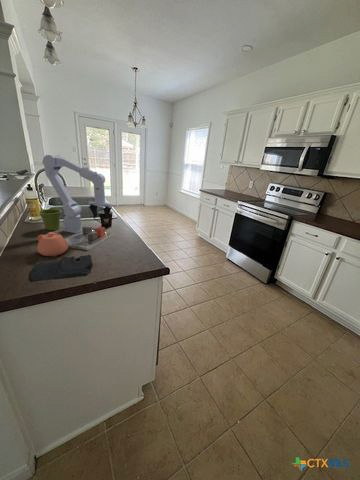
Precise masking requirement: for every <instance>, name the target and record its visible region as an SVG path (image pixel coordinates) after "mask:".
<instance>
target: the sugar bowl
mask: <svg viewBox="0 0 360 480" xmlns="http://www.w3.org/2000/svg"><path fill="white" fill-rule="evenodd" d="M37 240H38V241H37V242H38V243H37V252H38V253H39V254H40V255H42V256H45V257H57V256H59V255H62V254H64V253H65V252H67V250H68V249H69V247H68V244H67V242H66V240H65V237H64V236H63V235H61V234H60V233H55V232H54V231H50V232H47V233H46V234H39V235H37Z"/></svg>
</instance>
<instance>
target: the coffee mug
mask: <svg viewBox="0 0 360 480" xmlns="http://www.w3.org/2000/svg"><path fill="white" fill-rule="evenodd" d="M92 217H93V219H94V220H95V221H97V222H98V223H100V224H101V227H105V229H109V228H111V227H112V225H113V211H112V210H110V213H109V216H108V219H105V213H104V210H100V211H99V212H98V213H97V217H98V218H99V219H100V220H98V219H96V217H95V218H94V216H92Z"/></svg>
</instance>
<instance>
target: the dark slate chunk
mask: <svg viewBox="0 0 360 480" xmlns="http://www.w3.org/2000/svg"><path fill="white" fill-rule="evenodd" d="M93 265H94V264H93V259H92V255H91V254H88V255H87V254H86V255H80V256H79V257H75V256H74V255H73V256H69V257H68V256H62V257H61V258H60V259H55V260H41V261H37V262H36V263H35V264H34V265H33V267H32V268H31V271H30V275H29V276H30V277H29V279H30V282H31V283H32V282H40V281H41V282H42V281H50V280H51V281H52V280H60V279H69V278H76V277H77V278H78V277H84V276H85V277H86V276H88V275H89V274H92V269H93Z"/></svg>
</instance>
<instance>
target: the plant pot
mask: <svg viewBox="0 0 360 480" xmlns="http://www.w3.org/2000/svg"><path fill="white" fill-rule="evenodd" d="M61 212H62V210H61V209H57V208H48V209H47V208H46V209H41V210H38V212H37V213H38V214H39V216H40V217H41V220H42V222H43V224H44V228H45V230H47V231H56V230H59V229H60V218H61V217H60V216H61Z"/></svg>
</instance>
